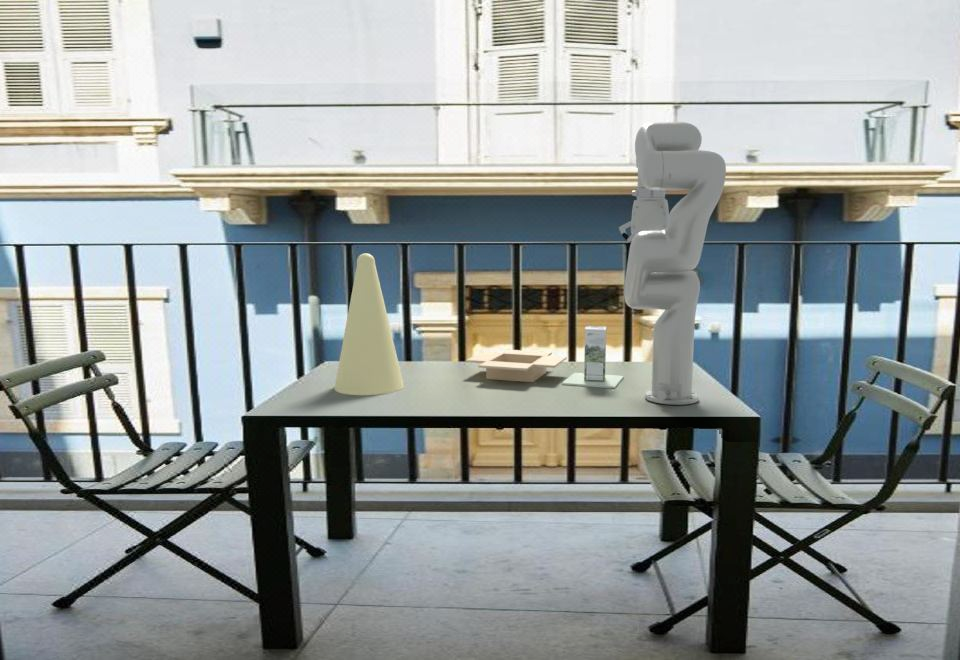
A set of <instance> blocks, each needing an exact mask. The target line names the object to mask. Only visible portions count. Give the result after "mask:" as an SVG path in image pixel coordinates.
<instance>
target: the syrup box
mask: <svg viewBox="0 0 960 660" xmlns="http://www.w3.org/2000/svg"><path fill="white" fill-rule="evenodd" d="M606 350H607V326H604V325H603V326H601V325H586V326H585V327H584V358H583V360H584V367H583V368H584V369H583V373H584V381H605V375H606V360H607V359H606V358H607V357H606V355H607V354H606V353H607V351H606Z"/></svg>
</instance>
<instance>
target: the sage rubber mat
mask: <svg viewBox="0 0 960 660" xmlns="http://www.w3.org/2000/svg"><path fill="white" fill-rule="evenodd" d="M623 379H624V375H617V374H616V375H615V374H605V381H584V372H573V373H572V374H571V375H569V377H567V378H566V379H565V380H564V381H563V382H562V386H563V385H565V386H574V387H576V386H577V387H588V388H589V387H590V388H602V389H603V388H605V389H616V388H617V386H618V385H619V384H620V383H621V382H622V380H623Z"/></svg>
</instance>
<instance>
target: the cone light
mask: <svg viewBox="0 0 960 660" xmlns="http://www.w3.org/2000/svg"><path fill="white" fill-rule="evenodd" d="M347 312H348V313H347V318H346V324H345V329H344V334H343V339H342V345H341V350H340V355H339V362H338V367H337V372H336V378H335V383H334V387H333V389H334V391H335V392H336V393H339V394H343V395H350V396H351V395H352V396H376V395H384V394H390V393H394V392H398V391H400V390H402V389H404V388H405V387H404V386H405V385H404V380H403V377H402V373H401V372H402V370H401V367H400V363H399V359H398V356H397V351H396V346H395V342H394V339H393V338H394V337H393V334H392V329H391V325H390V321H389V317H388V313H387V308H386V304H385V300H384V295H383V292H382V288H381V283H380V278H379V274H378V271H377V266H376V260H375V257H374V255H372V254H371V253H365V252H364V253H361V254H360V255H358V256H357V259H356V267H355V275H354V280H353V285H352V292H351V295H350V302H349V307H348V311H347Z"/></svg>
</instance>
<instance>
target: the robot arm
mask: <svg viewBox="0 0 960 660" xmlns="http://www.w3.org/2000/svg"><path fill="white" fill-rule="evenodd" d="M702 139H703V138H702V133H701V132H700V130H699V128H698V127H697V126H695V125H694V124H692V123H689V122H683V121H681V122H680V121H676V122H675V121H672V122H671V121H669V122H668V121H664V122H660V121H659V122H647V123H644V124H643V125H642V126H641V127H640V128H639V129H638V131H637V133H636V136H635V141H634V150H635V151H634V152H635V153H634V154H635V166H636V168H637V188H636V190H631V197H636V199H634V200H633V204H632V208H631V209H632V211H631V220H630V221H627V222H626V223H624V224H622V225H620V226H619V227H618V230H619V233H620V235H621V236H622V237H623V238H624V240H625V241H626V242H627V247H628V248H627V254H628V258H627V264H626V273H625V279H624V288H623V290H624V291H623V297H624V302H625V304H626V305H627V306H628V307H629V308H631V309H634V310H661V311H662V310H664V311H663V312H662V313H661V315H660V316H659V317H658V318H657V320H656V321H655V323H654V326H653V332H652V360H651V361H652V363H651V364H652V366H651V367H652V370H651V371H652V372H651V389H649V390H647V391H646V392H644V398H645V399H646V400H647V401H649V402H653V403H655V404H656V403H657V404H662V405H669V406H670V405H673V406H674V405H675V406H684V405H692V404H695V403H698V401H699V395H698V394H697V393H695V392H693V372H694V371H693V369H694V347H695V346H694V345H695V344H694V341H695V324H696V313H697V306H698V300H699V296H700V293H701V292H700V290H701V283H700V277H698V275H697V274H696V273H695V272H693V271H692V270H694V269H696V268H697V266H698V265H699V263H700V260H701V257H702V252H703V247H704V244H705V243H704V242H705V238H706V233H707V231H708V229H707V228H708V224H709V221H710V217H711V216H712V213H713V212H714V210H715V208H716V206H717V204H718V203H719V201H720V199H721V197H722V194H723V191H724V186H725V183H726V176H727V166H726V165H727V164H726V162H725V160H724V158H723V157H722V155H721V154H719V153H717V152H714V151H709V150H701V149H700V147H701V145H702ZM666 191H689V192H688V193H687V194H686V195H684V197H682V198H680V200H679V201H678V202H676V204H675V205H674V206H673V207H672V209H671V210H669V203H668V199H666ZM669 211H670V212H669ZM628 228H630V233H631V234H630V235H629V234H628V233H627V232H626V229H628Z"/></svg>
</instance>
